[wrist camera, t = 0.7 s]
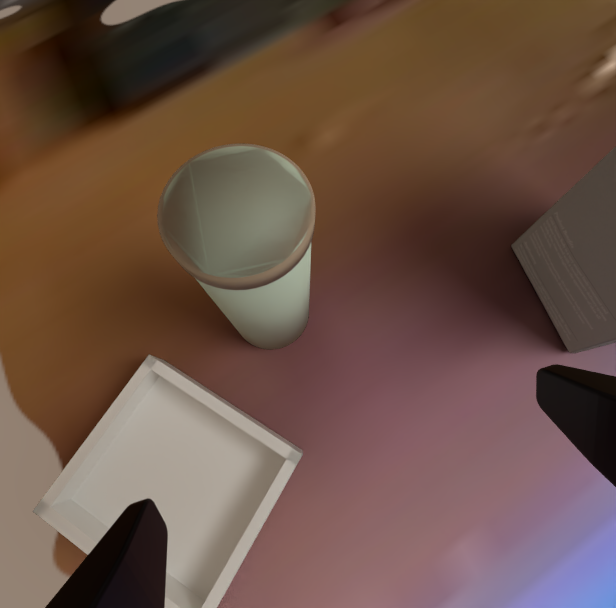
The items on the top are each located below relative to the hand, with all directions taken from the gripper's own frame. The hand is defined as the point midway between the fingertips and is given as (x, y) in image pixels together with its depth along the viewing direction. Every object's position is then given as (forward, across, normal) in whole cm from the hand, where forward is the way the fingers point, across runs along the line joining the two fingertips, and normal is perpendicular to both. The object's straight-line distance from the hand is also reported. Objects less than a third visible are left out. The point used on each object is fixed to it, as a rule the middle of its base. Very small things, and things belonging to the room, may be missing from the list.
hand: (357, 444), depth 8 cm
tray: (+10, +8, +8) cm, 16 cm away
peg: (+15, +1, +2) cm, 15 cm away
